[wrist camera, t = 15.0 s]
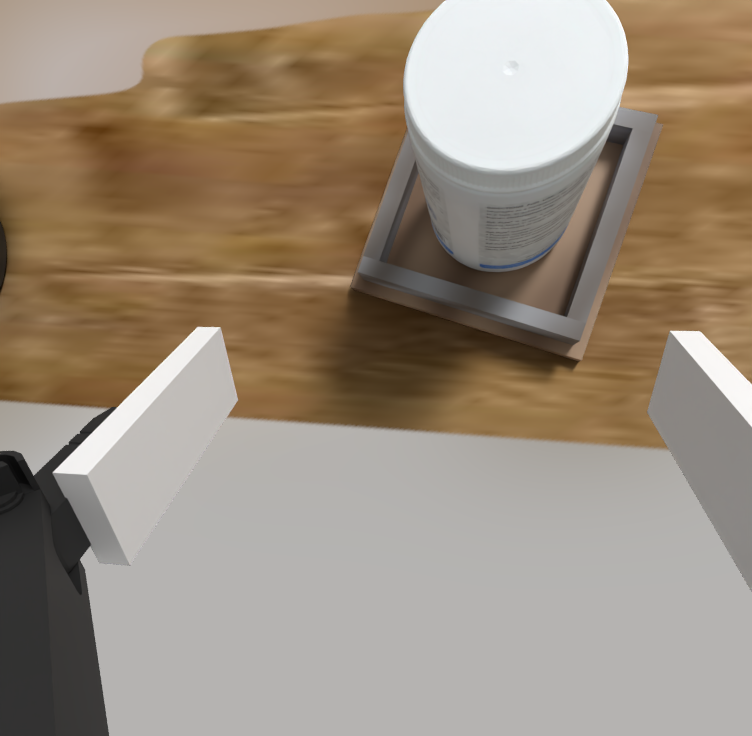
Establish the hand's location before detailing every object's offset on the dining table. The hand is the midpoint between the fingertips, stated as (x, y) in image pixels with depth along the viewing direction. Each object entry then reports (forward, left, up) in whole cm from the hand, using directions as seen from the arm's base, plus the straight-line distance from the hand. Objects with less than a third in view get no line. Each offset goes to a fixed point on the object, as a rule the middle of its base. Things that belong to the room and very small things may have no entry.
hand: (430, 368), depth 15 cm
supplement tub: (-1, +13, -20) cm, 24 cm away
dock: (-1, +13, -21) cm, 25 cm away
